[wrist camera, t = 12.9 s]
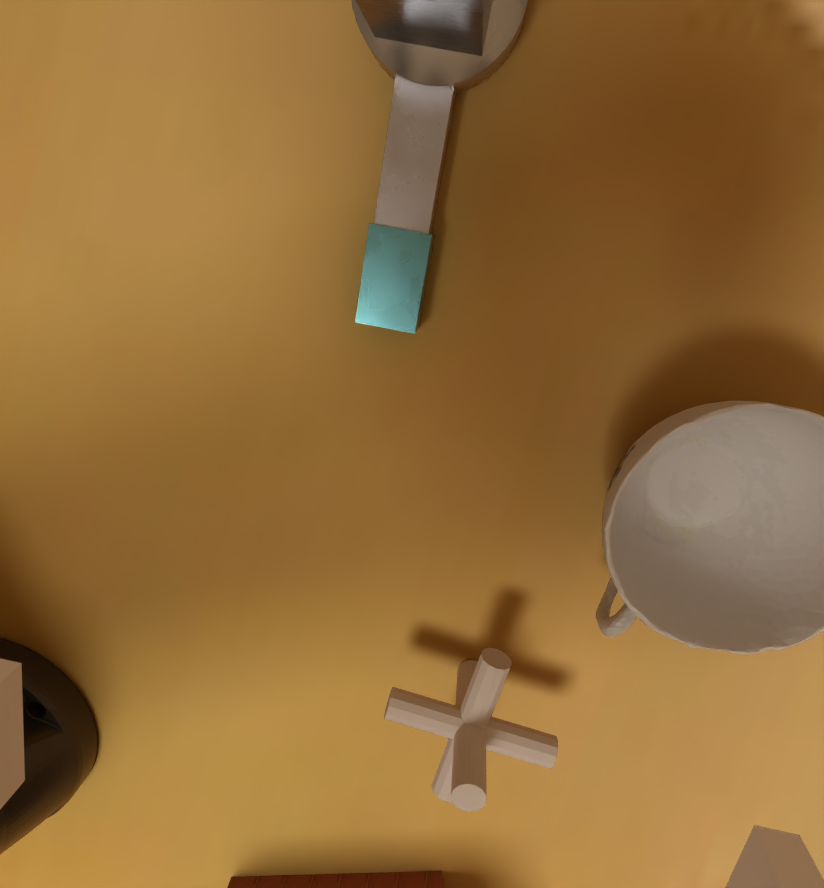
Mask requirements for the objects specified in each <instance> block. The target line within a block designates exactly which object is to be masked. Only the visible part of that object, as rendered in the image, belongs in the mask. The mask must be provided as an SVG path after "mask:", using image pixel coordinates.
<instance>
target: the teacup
mask: <svg viewBox="0 0 824 888" xmlns="http://www.w3.org/2000/svg"><path fill="white" fill-rule="evenodd" d="M602 540H603V549H604V555H605V560H606V564H607V568H608V570H609V573H610V576H611V579H610V581H609V583H608V586H607V588H606V591H605V593H604V595H603V597H602V599H601V602H600V604H599V606H598V608H597V611H596V619H597V622H598V625H599V628H600V630H601V632H602V633H603V634H605V635H606V636H608V637H615V636H618V635H620V634H621V633H623V632H624V631H625V630H626V629H627V628H628V627H629V626H630V625H631V624H632V623H633V622H634V620H635V618H636V617H638V618H639V619H640V620H641V621H643V622H644V623H645V624H646V625H647V626H649V627H650V628H651V629H653V630H654V631H656V632H657V633H659V634H661V635H663V636H665V637H668V638H671V639H673V640H676V641H679V642H682V643H684V644H686V645H687V646H688V647H695V648H704V649H711V650H722V651H728V652H731V653H735V654H755V653H759V652H762V651H765V650H768V649H770V648H772V649H773V650H782V649H786V648H788V647H791V646H794V645H796V644H799V643H801V642H803V641H806V640H808V639H810V638H812V637H814V636H815V635H817V634H818V633H820V632H822V631H824V416H822V415H819V414H816V413H814V412H811V411H808V410H805V409H799V408H794V407H790V406H785V405H780V404H774V403H768V402H759V401H723V402H715V403H709V404H703V405H700V406H696V407H692V408H689V409H686V410H683V411H681V412H679V413H676V414H674V415H672V416H670V417H668V418H666V419H664V420H663V421H661V422H659V423H658V424H656V425H654V426H653V427H652V428H650V429H649V430H648V431H647V432H646V433H644V434H643V435H642V436H641V437H640V438H639V439H638V440H637V441H636V442H635V443H634V444H633V445H632V446H631V447H630V448H629V450H628V451H627V452H626V454H625V455H624V457H623V458H622V460H621V461H620V463H619V464H618V466H617V468H616V469H615V471H614V474H613V476H612V479H611V481H610V484H609V486H608V489H607V493H606V498H605V502H604V508H603V515H602ZM617 591H618V592H619V594H620V596H621V597H622V599H623V601H624V602H625V603H624V605H623V607H622V608H621V609H620V610H619V611H618V612H617V613H616V614H615V615H613V616H611V617H609V614H610V609H611V605H612V603H613V600H614V597H615V595H616V593H617Z"/></svg>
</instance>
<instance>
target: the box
mask: <svg viewBox="0 0 824 888" xmlns="http://www.w3.org/2000/svg"><path fill="white" fill-rule="evenodd" d="M227 888H444V883H443V878H442V873H441V871H419V872H385V873H350V874H316V875H281V876H247V877H231V880H230V882H229V885H228V887H227Z"/></svg>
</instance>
